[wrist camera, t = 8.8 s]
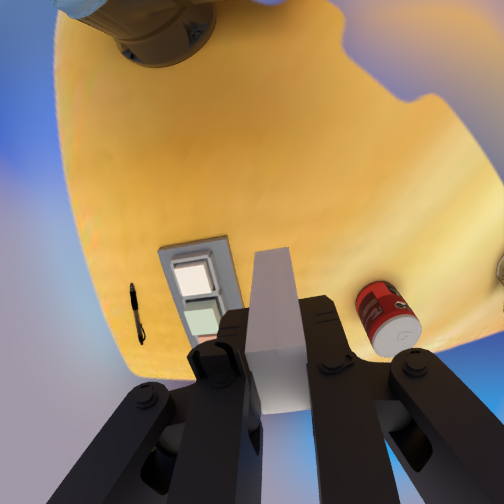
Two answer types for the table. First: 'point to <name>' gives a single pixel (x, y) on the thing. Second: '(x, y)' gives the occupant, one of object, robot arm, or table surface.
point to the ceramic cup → (501, 271)
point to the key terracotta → (206, 337)
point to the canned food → (387, 319)
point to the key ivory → (194, 277)
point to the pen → (136, 314)
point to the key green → (202, 317)
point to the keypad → (221, 271)
